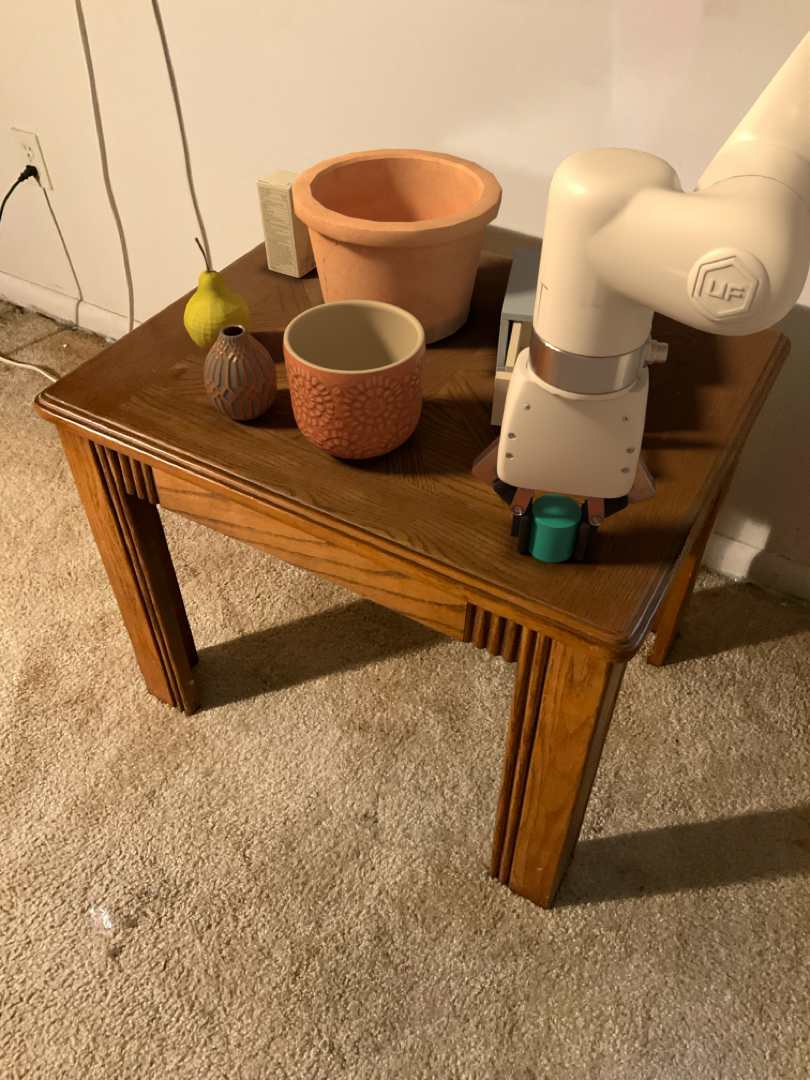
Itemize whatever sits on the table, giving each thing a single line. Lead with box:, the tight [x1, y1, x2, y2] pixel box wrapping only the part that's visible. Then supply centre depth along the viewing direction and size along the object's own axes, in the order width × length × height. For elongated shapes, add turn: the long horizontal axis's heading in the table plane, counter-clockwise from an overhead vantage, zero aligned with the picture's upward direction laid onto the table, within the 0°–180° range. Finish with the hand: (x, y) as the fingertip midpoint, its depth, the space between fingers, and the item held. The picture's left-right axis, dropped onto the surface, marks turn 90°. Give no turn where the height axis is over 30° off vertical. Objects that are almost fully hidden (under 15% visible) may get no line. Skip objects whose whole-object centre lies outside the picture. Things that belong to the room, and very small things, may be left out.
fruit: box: [183, 237, 252, 353], centre depth 85 cm, size 7×7×12 cm
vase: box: [203, 324, 278, 421], centre depth 78 cm, size 7×7×9 cm
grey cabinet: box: [495, 247, 653, 373], centre depth 88 cm, size 15×15×7 cm
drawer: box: [490, 320, 533, 427], centre depth 78 cm, size 19×13×5 cm
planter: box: [282, 300, 427, 460], centre depth 75 cm, size 12×12×11 cm
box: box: [255, 168, 317, 279], centre depth 99 cm, size 5×4×11 cm
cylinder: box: [526, 493, 582, 564], centre depth 66 cm, size 4×4×4 cm
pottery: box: [292, 148, 503, 345], centre depth 90 cm, size 22×22×14 cm
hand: (550, 543), depth 68 cm, fingers closed on cylinder, 4 cm apart
